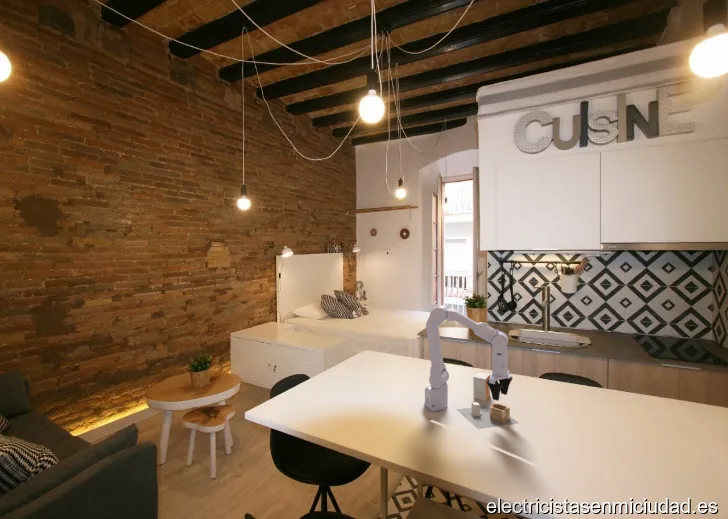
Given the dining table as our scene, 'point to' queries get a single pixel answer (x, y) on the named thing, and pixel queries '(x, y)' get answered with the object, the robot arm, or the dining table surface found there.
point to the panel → (482, 416)
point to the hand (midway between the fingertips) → (499, 396)
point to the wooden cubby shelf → (499, 412)
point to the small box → (481, 386)
